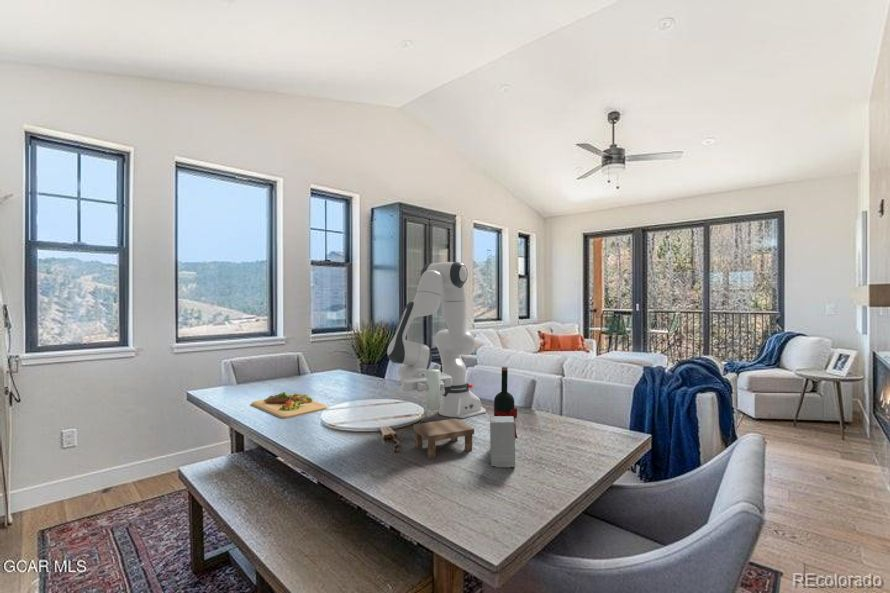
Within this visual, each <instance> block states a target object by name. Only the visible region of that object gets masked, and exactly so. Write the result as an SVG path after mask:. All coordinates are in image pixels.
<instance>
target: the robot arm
mask: <svg viewBox="0 0 890 593" xmlns="http://www.w3.org/2000/svg"><path fill="white" fill-rule="evenodd" d="M468 274H469V272H468V268H467V266H466V265H465V264H464V263H462V262H458V261H441V262H435V263H432V262H431V263H427V264H424V266H423V267H422V269H421V271H420V279H419V283H418V285H417V289H416V294H415V296H414V299H413V300H412V301H409V302H408V303H407V304H406V305H405V307H404V308H403V311H402V314H401V316H400V318H399V320H398V323H397V326H396V329H395V331H394V333H393V336H392V338H391V340H390V342H389V344H388V346H387V349H386V355H387V358H388V359H389V360H390V361H391V363H392V364H400V366H399V367H398V370H397V376H398V379H399V380H398V381H396V385H398V386H400V389H401V390H402V391H403V392H413V391H414V392H415V391H417V392H425V391H427V390H428V389H429V388H428V387H429V386H428V385H427V370H429V369H430V367H431V364H432V359H433V354H432V351H431V348H430V347H429V346H428V344H427V345H426V344H424V343H419V342H414V341H411V340H407V339H406V336H407V334H408V332H409V328H410V326H411V324H412V322H413V320H414V319H415V318H419V317H426V316H430V315H433V314H435V313H436V312H438V310H439V309H440V307H442V308H441V310H442V313H441V314H442V315H441V316H442V319H443V321H444V322H445V324H446V325H445V326H446V329H445V328H444V329H440V330H439V331H437V332H436V334H435V335H434V339H433V340H434V345H435V346H436V348H437V350H438V353H439V356H440V361H441V366H442V367H441V368H442V369H441V370H442V372H441V370H440V395H441V398H440V409H438V414H439V415H441V416H445V417H448V418H449V417H450V418H460V419H465V418H470V417H473V416H479V415H481V414H486V412H487V411H486V408H484V407H483V406H482V403H481V399H480V398H479V397H478V396H477V395H475V394H474V393H473V391H471V390H470V389H473V388H474V385H473V384H472V383H467V381H466V380H467V366H466V364H465V363H464V360H463V359H462V356H468V355H471V354H473V352H474V351H475V350H476V345H477V341H476V338H475V337H474V335H473V334H472V332H471V330H470V327H469V324H468V319H467V302H466V300H467V297H466V288H465V284H466V282H467V279H468ZM441 305H442V306H441Z"/></svg>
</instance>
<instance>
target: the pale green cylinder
mask: <svg viewBox="0 0 890 593" xmlns="http://www.w3.org/2000/svg"><path fill="white" fill-rule="evenodd" d="M440 371H441V369H438V368H437V369H436V368H432V369H430V368H429V369H428V370H427V385H428V386H429V387H428V388H429V389H428V390H426V409H427V410H430V411H437V410H438V411H439V409H440V405H441V388H440Z"/></svg>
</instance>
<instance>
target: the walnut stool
mask: <svg viewBox="0 0 890 593" xmlns="http://www.w3.org/2000/svg"><path fill="white" fill-rule="evenodd" d="M413 431H414V432H415V433H414V434H415V435H414V436H415V438H414V440H415V442H414V444H415V445H414V447H416V448H417V449H418V448H422V447H423V438H424V439H425V440H426V441H427V457H428V458H429V459H434V458H436V442H437V441H442V440H443V441H444V440H449V439H450V441H451V442H457V441H459V440H458V438H460V437H464V450H465V451H466V452H471V451H473V435H475V428H473V427H472V426H471V425H468V424H467V423H465V422H463V421H461V420H459V419H457V417H454V418H450V419H442V420H436V421H429V422H423V423H417V424H413Z"/></svg>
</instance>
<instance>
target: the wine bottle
mask: <svg viewBox="0 0 890 593" xmlns="http://www.w3.org/2000/svg"><path fill="white" fill-rule="evenodd" d="M508 369H509V367H508V366H501V391H500V392H498V393H496V395H495V397H494V400H493V401H494V402H493V416H513V417H514V421H515V422H516V419H517V418H518V408H517V407H515V398H514V396H513V395H512V393H510V392H509V391H508V374H509V372H508ZM518 439H519V438H518V435H517V426H516V424H515V440H518Z"/></svg>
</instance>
